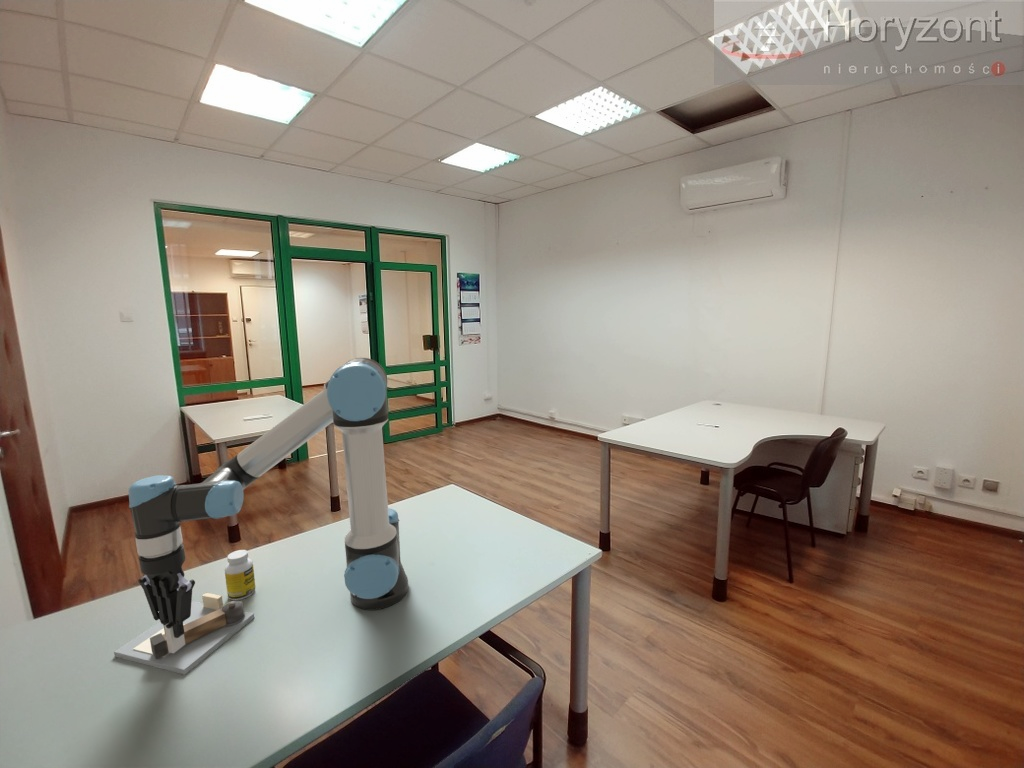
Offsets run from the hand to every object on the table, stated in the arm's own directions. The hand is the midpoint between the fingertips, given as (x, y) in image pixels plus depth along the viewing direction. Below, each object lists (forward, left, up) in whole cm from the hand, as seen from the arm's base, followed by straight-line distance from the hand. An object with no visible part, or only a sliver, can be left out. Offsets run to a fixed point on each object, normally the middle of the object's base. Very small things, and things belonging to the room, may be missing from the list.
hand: (177, 648), depth 96 cm
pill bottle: (+5, -22, -3) cm, 23 cm away
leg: (0, -6, -1) cm, 6 cm away
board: (+4, -6, -3) cm, 8 cm away
